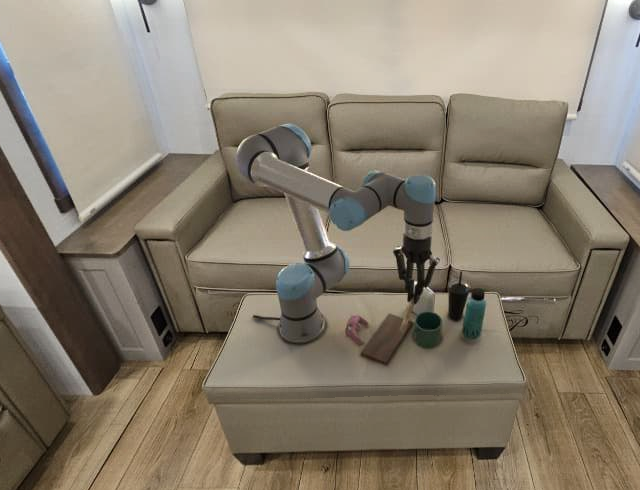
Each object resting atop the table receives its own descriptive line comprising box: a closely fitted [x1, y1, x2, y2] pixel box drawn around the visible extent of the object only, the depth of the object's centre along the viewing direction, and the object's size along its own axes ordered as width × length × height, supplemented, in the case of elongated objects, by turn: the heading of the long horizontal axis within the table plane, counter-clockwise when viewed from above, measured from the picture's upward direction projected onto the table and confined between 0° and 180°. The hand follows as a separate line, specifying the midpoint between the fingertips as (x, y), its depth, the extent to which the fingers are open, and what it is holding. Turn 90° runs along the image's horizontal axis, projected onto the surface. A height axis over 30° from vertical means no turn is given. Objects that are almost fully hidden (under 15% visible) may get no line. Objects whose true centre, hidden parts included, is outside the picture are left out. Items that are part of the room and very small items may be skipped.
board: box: [360, 313, 413, 365], centre depth 142 cm, size 9×20×1 cm, turn 155°
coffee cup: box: [413, 311, 443, 348], centre depth 140 cm, size 9×9×8 cm
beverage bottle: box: [461, 287, 487, 341], centre depth 138 cm, size 6×7×20 cm
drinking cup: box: [447, 270, 472, 321], centre depth 145 cm, size 8×8×20 cm
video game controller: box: [344, 313, 369, 345], centre depth 142 cm, size 10×5×7 cm, turn 168°
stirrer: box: [400, 294, 415, 333], centre depth 125 cm, size 1×13×13 cm
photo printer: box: [407, 280, 436, 316], centre depth 149 cm, size 10×4×12 cm, turn 46°
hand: (413, 300), depth 125 cm, fingers closed on stirrer
